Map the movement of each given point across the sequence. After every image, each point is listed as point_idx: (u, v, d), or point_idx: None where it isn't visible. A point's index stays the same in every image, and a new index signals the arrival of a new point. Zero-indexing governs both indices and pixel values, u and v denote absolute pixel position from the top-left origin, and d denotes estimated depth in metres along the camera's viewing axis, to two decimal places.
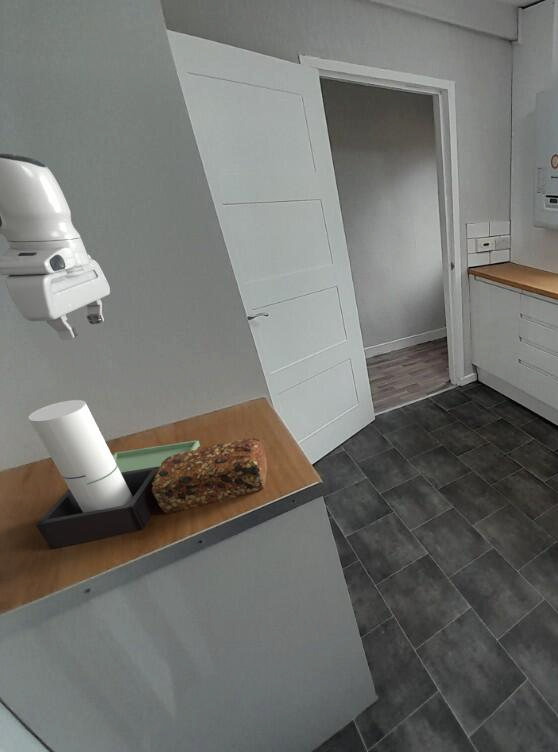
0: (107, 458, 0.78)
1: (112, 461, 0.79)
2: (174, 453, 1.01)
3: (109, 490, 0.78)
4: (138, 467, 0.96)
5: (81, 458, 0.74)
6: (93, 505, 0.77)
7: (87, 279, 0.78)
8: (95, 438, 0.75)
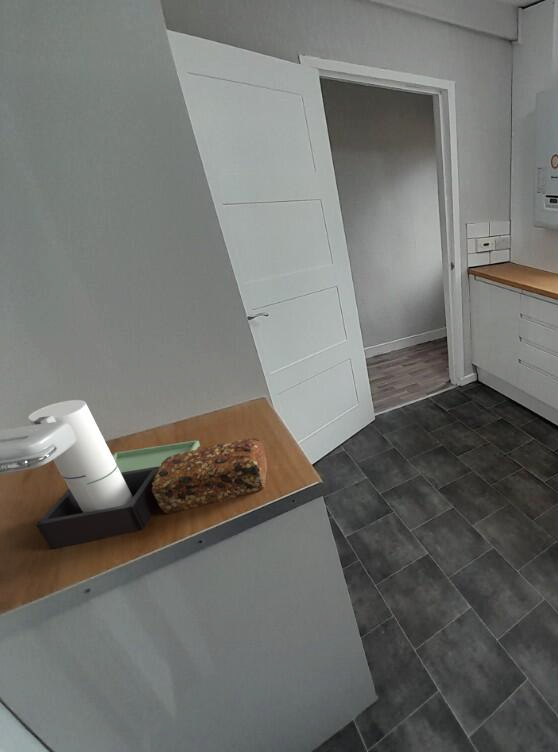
0: (107, 458, 0.78)
1: (112, 461, 0.79)
2: (174, 453, 1.01)
3: (109, 490, 0.78)
4: (138, 467, 0.96)
5: (81, 458, 0.74)
6: (93, 505, 0.77)
7: None
8: (95, 438, 0.75)
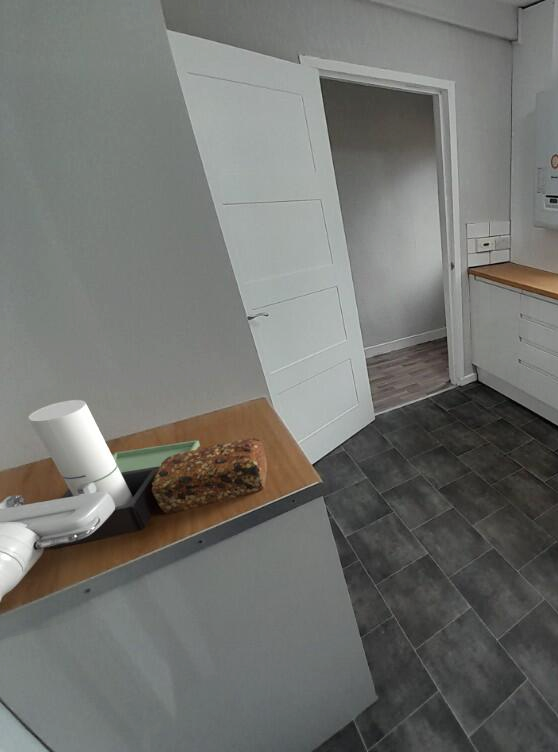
0: (107, 458, 0.78)
1: (112, 461, 0.79)
2: (174, 453, 1.01)
3: (108, 490, 0.78)
4: (138, 467, 0.96)
5: (81, 458, 0.74)
6: None
7: None
8: (95, 438, 0.75)
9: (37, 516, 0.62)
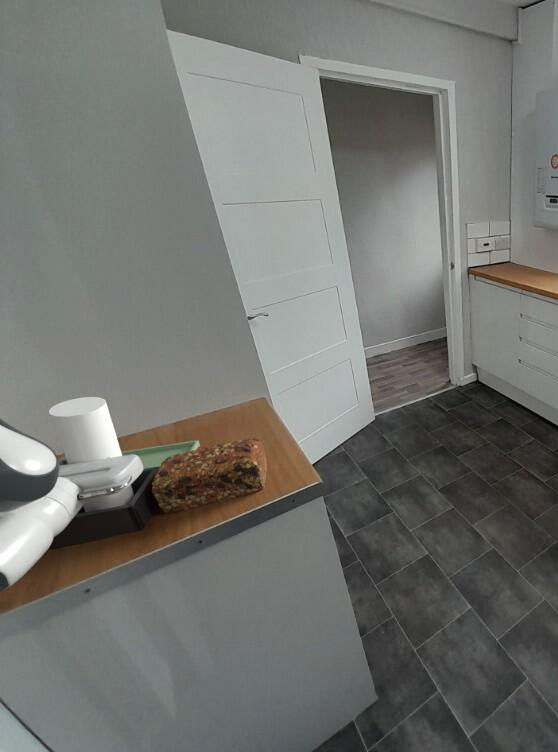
0: None
1: None
2: (174, 453, 1.01)
3: None
4: None
5: (94, 455, 0.74)
6: (97, 503, 0.77)
7: None
8: (110, 437, 0.76)
9: (78, 473, 0.71)
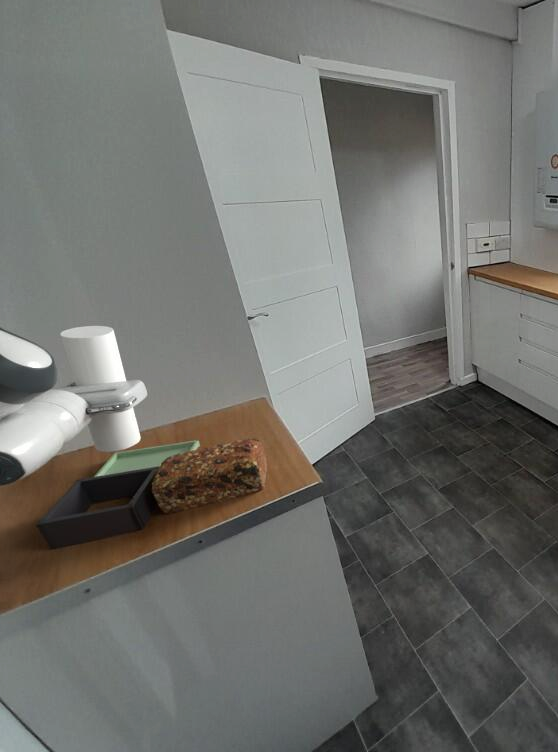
0: None
1: None
2: (174, 453, 1.01)
3: (119, 414, 0.83)
4: (138, 467, 0.96)
5: (101, 379, 0.79)
6: (103, 427, 0.82)
7: None
8: (116, 363, 0.81)
9: (86, 392, 0.76)
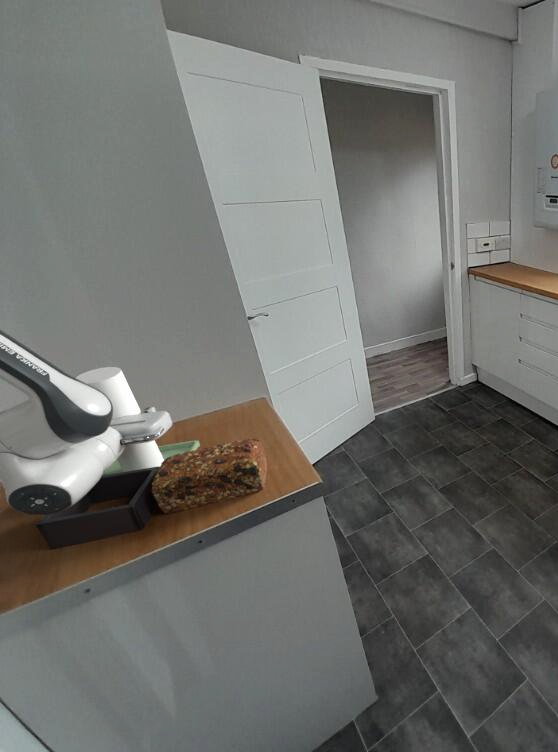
0: None
1: None
2: (174, 453, 1.01)
3: (141, 445, 0.91)
4: None
5: (118, 416, 0.86)
6: (128, 458, 0.90)
7: None
8: (129, 400, 0.87)
9: (119, 424, 0.84)
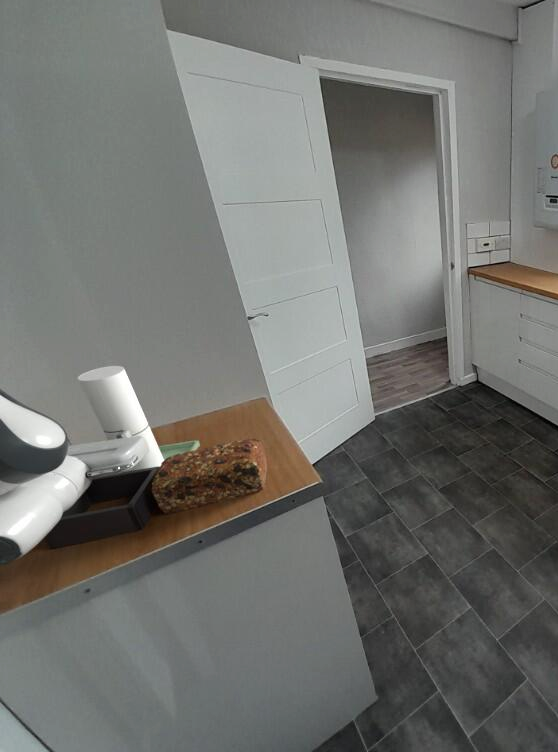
0: (140, 416, 0.90)
1: (145, 420, 0.92)
2: (174, 453, 1.01)
3: None
4: None
5: (120, 414, 0.86)
6: None
7: None
8: (131, 398, 0.88)
9: (86, 453, 0.73)
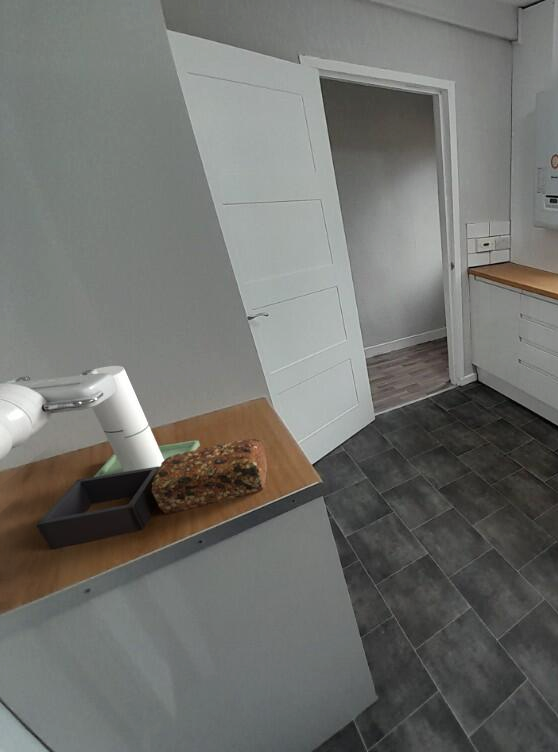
0: (140, 416, 0.90)
1: (145, 420, 0.92)
2: (174, 453, 1.01)
3: (142, 444, 0.91)
4: None
5: (120, 414, 0.86)
6: (129, 457, 0.90)
7: None
8: (131, 398, 0.88)
9: (45, 386, 0.66)
